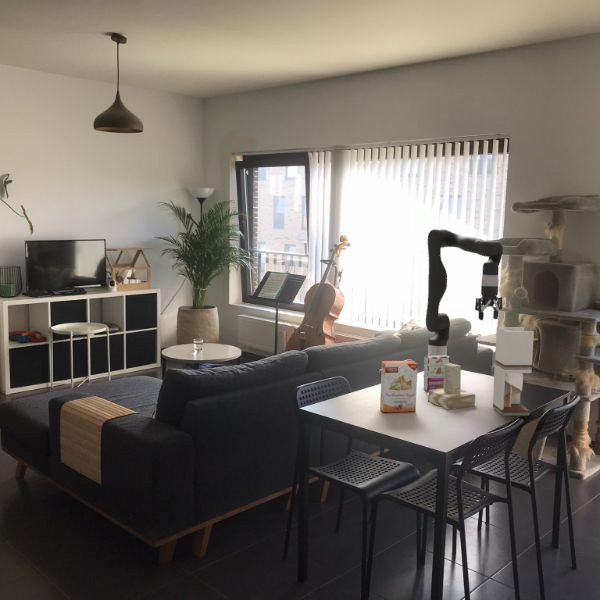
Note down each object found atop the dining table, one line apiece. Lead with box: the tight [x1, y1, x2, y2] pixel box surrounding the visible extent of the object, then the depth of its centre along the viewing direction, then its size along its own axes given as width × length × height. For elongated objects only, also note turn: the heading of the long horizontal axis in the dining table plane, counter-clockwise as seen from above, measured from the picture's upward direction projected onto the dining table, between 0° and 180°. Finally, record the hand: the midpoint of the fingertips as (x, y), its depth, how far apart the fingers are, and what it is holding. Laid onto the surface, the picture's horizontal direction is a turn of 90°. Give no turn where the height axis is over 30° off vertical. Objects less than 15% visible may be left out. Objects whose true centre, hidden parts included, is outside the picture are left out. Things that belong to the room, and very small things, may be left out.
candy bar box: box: [423, 355, 451, 393], centre depth 300 cm, size 11×5×16 cm, turn 104°
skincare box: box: [444, 362, 462, 394], centre depth 278 cm, size 6×4×12 cm
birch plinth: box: [428, 388, 476, 410], centre depth 278 cm, size 14×14×5 cm
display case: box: [492, 326, 535, 416], centre depth 265 cm, size 11×11×35 cm
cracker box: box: [379, 360, 419, 413], centre depth 265 cm, size 14×6×21 cm, turn 99°
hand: (488, 319), depth 296 cm, fingers open, 8 cm apart
